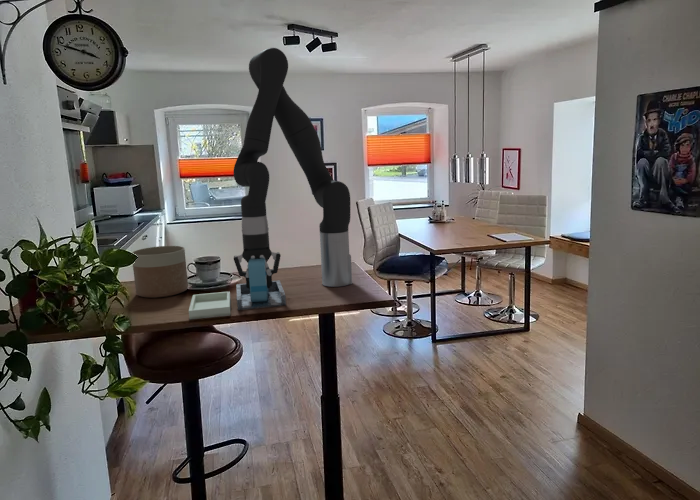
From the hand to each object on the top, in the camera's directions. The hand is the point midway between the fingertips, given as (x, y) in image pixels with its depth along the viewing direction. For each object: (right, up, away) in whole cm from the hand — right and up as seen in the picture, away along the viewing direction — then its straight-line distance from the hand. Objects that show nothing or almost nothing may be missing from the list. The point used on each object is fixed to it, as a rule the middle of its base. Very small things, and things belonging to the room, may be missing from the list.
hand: (259, 288), depth 155 cm
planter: (-33, -3, +14) cm, 36 cm away
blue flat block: (0, -3, +1) cm, 3 cm away
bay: (0, -3, +1) cm, 3 cm away
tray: (-12, -5, -7) cm, 15 cm away
